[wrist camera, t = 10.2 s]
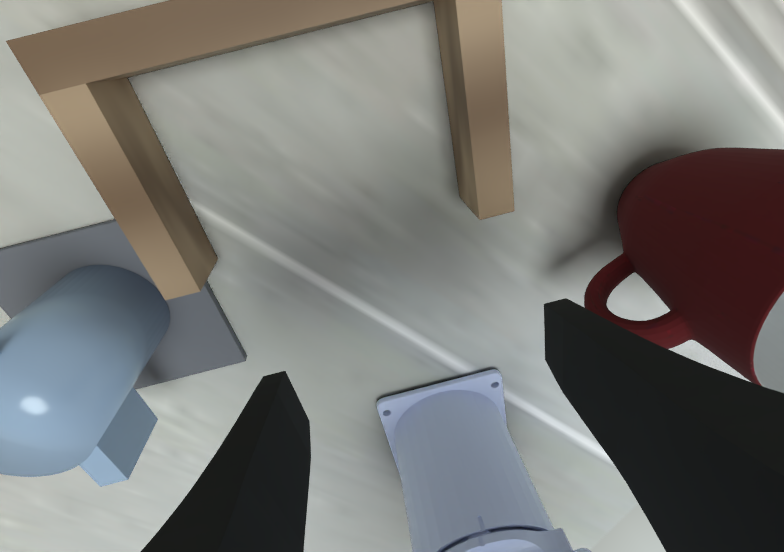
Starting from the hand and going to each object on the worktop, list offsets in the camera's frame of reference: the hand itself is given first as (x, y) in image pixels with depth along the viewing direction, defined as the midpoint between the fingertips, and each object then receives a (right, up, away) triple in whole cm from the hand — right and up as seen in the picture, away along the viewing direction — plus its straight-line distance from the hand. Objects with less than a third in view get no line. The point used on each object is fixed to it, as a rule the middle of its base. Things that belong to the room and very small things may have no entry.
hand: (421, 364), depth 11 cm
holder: (-4, +8, +6) cm, 11 cm away
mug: (+12, +6, +10) cm, 17 cm away
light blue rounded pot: (-14, +1, +8) cm, 17 cm away
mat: (-14, +1, +9) cm, 17 cm away
